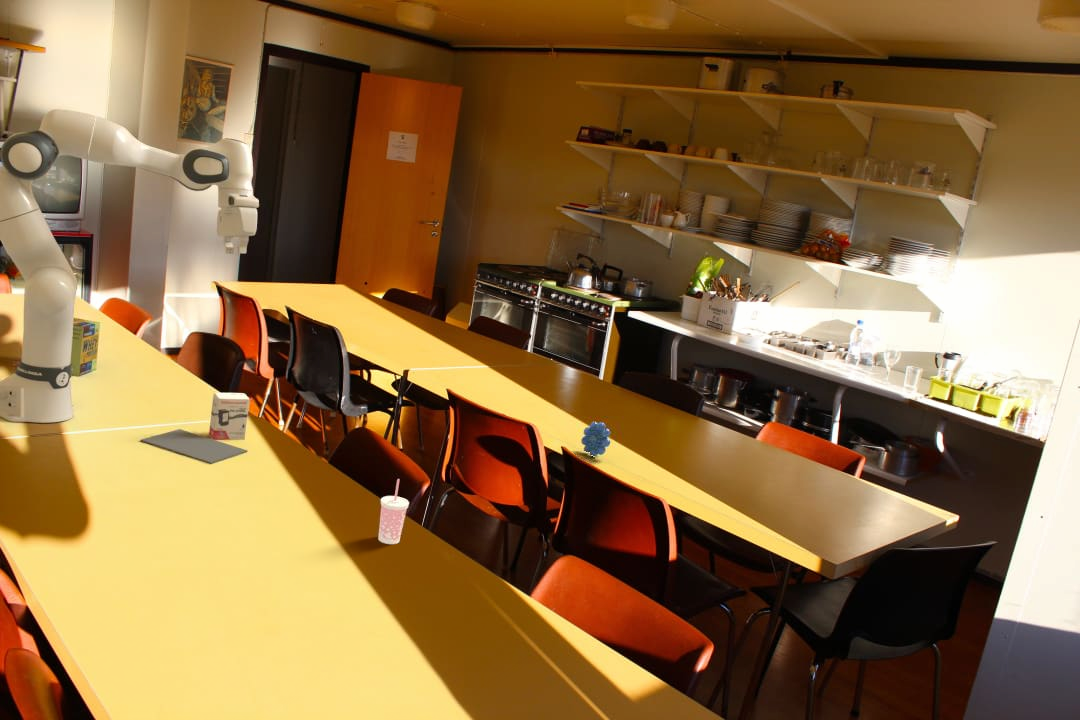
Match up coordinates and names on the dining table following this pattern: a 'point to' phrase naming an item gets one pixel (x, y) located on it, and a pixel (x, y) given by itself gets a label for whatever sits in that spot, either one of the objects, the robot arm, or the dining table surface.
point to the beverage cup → (392, 517)
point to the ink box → (229, 416)
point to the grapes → (596, 438)
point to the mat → (194, 446)
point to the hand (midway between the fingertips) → (235, 253)
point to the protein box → (84, 346)
